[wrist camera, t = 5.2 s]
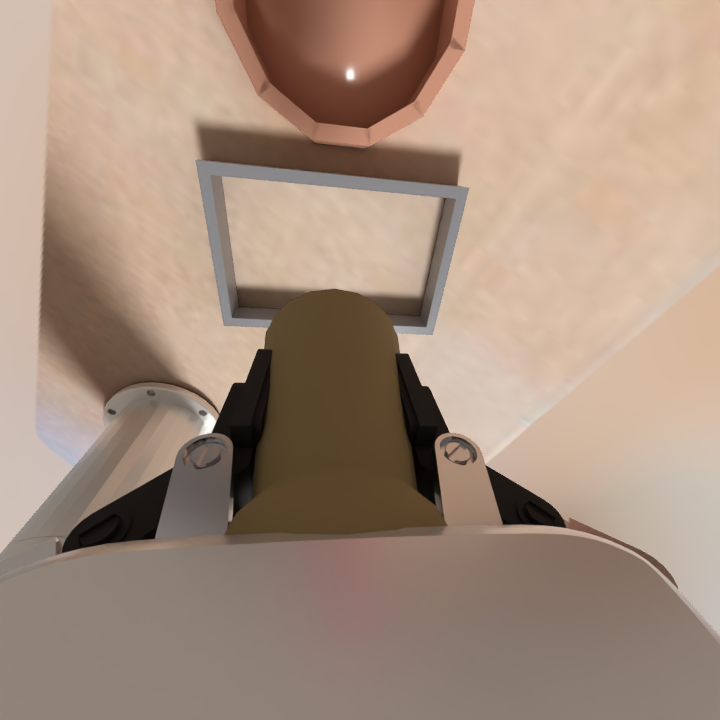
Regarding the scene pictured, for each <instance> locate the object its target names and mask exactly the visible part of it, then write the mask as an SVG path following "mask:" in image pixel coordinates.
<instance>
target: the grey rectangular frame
mask: <svg viewBox="0 0 720 720" xmlns="http://www.w3.org/2000/svg"><path fill="white" fill-rule="evenodd" d="M196 165H197V171H198V177H199V182H200V188H201V194H202V200H203V206H204V212H205V218H206V224H207V229H208V235H209V241H210V247H211V253H212V259H213V265H214V271H215V276H216V282H217V288H218V294H219V300H220V306H221V312H222V318H223V324H224V326H241V327H264V328H269V326H270V324H271V322H272V320H273V318H274V316H275V315H276V314H277V313H278V312H279V311H280V310H281V309H270V308H250V307H239V303H238V296H237V289H236V281H235V274H234V266H233V259H232V252H231V244H230V237H229V229H228V222H227V215H226V207H225V200H224V192H223V185H222V178H221V176H226V177H237V178H247V179H257V180H268V181H278V182H288V183H298V184H309V185H319V186H329V187H339V188H350V189H360V190H370V191H380V192H391V193H401V194H411V195H421V196H432V197H442V198H445V203H444V207H443V212H442V217H441V221H440V226H439V231H438V235H437V240H436V245H435V249H434V254H433V259H432V263H431V268H430V273H429V277H428V282H427V287H426V291H425V296H424V301H423V305H422V310H421V314H420V316H407V315H387V314H386V315H387V316H388V317H389V318H390V319H391V321H392V324H393V326H394V329H395V331H396V333H400V334H423V335H433V331H434V327H435V323H436V319H437V315H438V311H439V307H440V303H441V299H442V295H443V291H444V287H445V283H446V279H447V275H448V271H449V267H450V263H451V259H452V255H453V251H454V247H455V243H456V239H457V235H458V231H459V227H460V223H461V219H462V215H463V211H464V206H465V202H466V198H467V194H468V190H469V188H467V187H462V186H455V185H446V184H436V183H426V182H416V181H407V180H397V179H387V178H377V177H368V176H358V175H348V174H338V173H329V172H319V171H309V170H299V169H290V168H280V167H270V166H260V165H251V164H241V163H231V162H221V161H212V160H196Z"/></svg>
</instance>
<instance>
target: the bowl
mask: <svg viewBox="0 0 720 720" xmlns="http://www.w3.org/2000/svg"><path fill="white" fill-rule="evenodd" d="M474 1H475V0H215V3H216V11H217V14H218V16H219V18H220V20H221V22H222V24H223V26H224V28H225V30H226V32H227V34H228V36H229V38H230V40H231V42H232V44H233V46H234V48H235V50H236V52H237V54H238V56H239V58H240V60H241V62H242V64H243V66H244V68H245V70H246V72H247V74H248V76H249V78H250V80H251V82H252V84H253V86H254V88H255V90H256V92H257V94H258V96H259V97H260V98H262V99H263V100H264V101H265V102H266V103H267V104H268V105H269V106H271V107H272V108H273V109H274V110H276V111H277V112H278V113H279V114H280V115H282V116H283V117H284V118H285V119H287V120H288V121H289V122H290V123H291V124H293V125H294V126H295V127H296V128H298V129H299V130H300V131H301V132H302V133H304V134H305V135H306V136H307V137H309V138H310V139H311V140H312V141H314V142H315V143H320V144H329V145H338V146H347V147H356V148H367V147H369V146H371V145H373V144H375V143H376V142H378V141H380V140H382V139H384V138H385V137H387V136H389V135H391V134H392V133H394V132H396V131H398V130H400V129H401V128H403V127H405V126H407V125H408V124H410V123H412V122H414V121H416V120H417V119H419V118H421V117H423V115H424V114H425V112H426V111H427V109H428V108H429V106H430V104H431V103H432V101H433V100H434V98H435V97H436V95H437V93H438V92H439V90H440V89H441V87H442V85H443V84H444V82H445V81H446V79H447V78H448V76H449V74H450V73H451V71H452V70H453V68H454V67H455V65H456V63H457V62H458V60H459V59H460V57H461V56H462V54H463V52H464V51H465V47H466V42H467V37H468V32H469V27H470V21H471V16H472V11H473V6H474Z"/></svg>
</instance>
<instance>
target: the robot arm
mask: <svg viewBox="0 0 720 720" xmlns="http://www.w3.org/2000/svg"><path fill="white" fill-rule="evenodd" d="M395 355H396V361H397V368H398V379H399V389H400V395H401V400H402V406H403V411H404V417H405V422H406V428H407V433H408V438H409V440H410V443H411V445H412V452H413V460H414V467H415V475H416V483H417V491H418V492H419V493H420V494H421V495H422V496H424V497H425V498H426V499H428V500H429V501H430V502H432V503H433V504H434V505H436V507H437V509H438V510H439V512H440V513H441V515H442V517H443V518H444V520H445V522H446V523H447V525H448V526H440V527H411V528H402V529H398V530H389V531H378V532H368V533H357V534H347V535H340V534H290V533H262V534H239V535H224V534H225V532H226V530H227V529H228V526H229V524H230V522H231V521H232V519H233V518H234V516H235V515H236V513H237V512H238V511H239V510H240V509H242V508H243V507H244V506H245V505H246V504H247V503H249V502H250V501H251V498H252V487H253V475H254V464H255V452H256V446H257V444H258V443H259V441H260V439H261V436H262V430H263V424H264V419H265V413H266V407H267V401H268V395H269V389H270V361H271V356H272V350H271V349H258V351H257V353H256V356H255V359H254V361H253V364H252V366H251V369H250V372H249V374H248V377H247V380H246V382H245V383H234V384H233V385H232V387H231V389H230V392H229V394H228V396H227V399H226V401H225V403H224V405H223V408H222V410H221V412H220V415H219V414H218V413H217V412H216V410H215V409H214V408H213V407H212V406H211V405H210V404H209V403H208V402H207V401H206V400H204V399H203V398H201V397H200V396H198V395H197V394H195V393H193V392H191V391H189V390H186V389H184V388H181V387H178V386H175V385H170V384H165V383H154V382H148V383H138V384H134V385H130V386H127V387H125V388H123V389H121V390H120V391H118V392H117V393H116V394H115V395H114V396H113V397H112V398H111V399H110V400H109V401H108V403H107V404H106V406H105V408H104V412H103V420H104V425H105V427H106V429H105V431H104V432H103V433H102V434H101V435H100V437H99V438H98V439H97V440H96V441H95V442H94V444H93V445H92V446H91V447H90V448H89V450H88V451H87V452H86V453H85V454H84V456H83V457H82V458H81V459H80V460H79V461H78V463H77V464H76V465H75V466H74V467H73V469H72V470H71V471H70V472H69V473H68V474H67V476H66V477H65V478H64V479H63V481H62V482H61V483H60V484H59V485H58V486H57V488H56V489H55V490H54V491H53V492H52V493H51V495H50V496H49V497H48V498H47V499H46V501H45V502H44V503H43V504H42V505H41V506H40V508H39V509H38V510H37V511H36V513H35V514H34V515H33V516H32V517H31V518H30V520H29V521H28V522H27V523H26V524H25V526H24V527H23V528H22V529H21V530H20V531H19V533H18V534H17V535H16V536H15V537H14V539H13V540H12V541H11V542H10V543H9V544H8V546H7V547H6V548H5V549H4V550H3V551H2V552H1V554H0V720H720V636H719V635H718V633H717V632H716V631H715V630H714V629H713V628H712V627H711V625H710V624H709V623H708V622H707V621H706V620H705V619H704V617H703V616H702V615H701V614H700V613H699V612H698V611H697V609H696V608H695V607H694V606H693V605H692V604H691V603H690V602H689V601H688V600H687V598H685V596H684V595H683V594H682V593H681V592H680V591H679V590H678V587H677V585H676V583H675V581H674V579H673V577H672V576H671V574H670V573H669V572H668V571H667V569H666V568H665V567H664V566H663V565H662V564H661V563H659V562H658V561H657V560H656V559H654V558H653V557H652V556H650V555H648V554H647V553H645V552H643V551H641V550H639V549H637V548H635V547H633V546H630V545H628V544H626V543H624V542H622V541H619V540H617V539H615V538H612V537H611V536H608V535H606V534H604V533H602V532H599V531H597V530H595V529H593V528H591V527H589V526H586V525H584V524H582V523H580V522H578V521H576V520H573V519H571V518H568V519H567V520H564V519H563V518H562V517H561V515H560V514H559V512H558V511H557V510H556V509H555V508H553V506H551V505H550V504H549V503H547V502H546V501H545V500H543V499H542V498H540V497H538V496H536V495H535V494H533V493H532V492H530V491H528V490H527V489H525V488H523V487H521V486H520V485H518V484H516V483H515V482H513V481H511V480H510V479H508V478H506V477H505V476H503V475H501V474H499V473H498V472H496V471H494V470H493V469H491V468H489V467H488V466H486V465H485V462H484V459H483V455H482V453H481V451H480V448H479V447H478V446H477V445H476V444H475V442H473V441H472V440H470V439H469V438H467V437H465V436H463V435H460V434H456V433H450V432H449V430H448V428H447V426H446V423H445V421H444V419H443V417H442V415H441V412H440V410H439V408H438V406H437V404H436V401H435V399H434V397H433V395H432V392H431V390H430V389H429V387H427V386H422V385H421V383H420V381H419V378H418V376H417V373H416V371H415V369H414V366H413V364H412V362H411V359H410V357H409V355H408V354H400V353H396V354H395Z"/></svg>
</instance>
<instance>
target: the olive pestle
mask: <svg viewBox="0 0 720 720" xmlns="http://www.w3.org/2000/svg"><path fill="white" fill-rule="evenodd" d="M264 349H271V350H272V356H271V361H270V389H269V395H268V401H267V407H266V413H265V419H264V424H263V430H262V436H261V439H260V441H259V443H258V444H257V446H256V452H255V464H254V475H253V487H252V498H251V501H250V502H249V503H247V504H246V505H245V506H244V507H243V508H242V509H240V510H239V511H238V512H237V513H236V515H235V516H234V518H233V519H232V521H231V522H230V524H229V526H228V529H227V530H226V532H225V534H224V535H239V534H262V533H290V534H340V535H347V534H357V533H368V532H378V531H389V530H398V529H402V528H411V527H440V526H448V525H447V523H446V522H445V520H444V518H443V517H442V515H441V513H440V512H439V510H438V509H437V507H436V505H434V504H433V503H432V502H430V501H429V500H428V499H426V498H425V497H424V496H422V495H421V494H420V493H419V492H418V491H417V483H416V475H415V467H414V460H413V452H412V445H411V443H410V440H409V438H408V433H407V428H406V422H405V417H404V411H403V406H402V400H401V395H400V389H399V379H398V368H397V361H396V355H395V354H396V353H400V351H399V343H398V337H397V334H396V331H395V329H394V326H393V324H392V321H391V319H390V318H389V317H388V316H387V315H386V314H385V312H384V311H383V310H382V309H381V308H380V307H379V306H378V305H377V304H376V303H374V302H372V301H370V300H369V299H367V298H365V297H363V296H362V295H360V294H358V293H353V292H348V291H343V290H338V289H330V290H320V291H311V292H309V293H307V294H305V295H302V296H300V297H298V298H295V299H293V300H291V301H290V302H289V303H287V304H286V305H285V306H284V307H283V308H282V309H281V310H280V311H279V312H278V313H277V314H276V315H275V316H274V318H273V320H272V322H271V324H270V326H269V328H268V330H267V332H266V337H265V348H264Z"/></svg>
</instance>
